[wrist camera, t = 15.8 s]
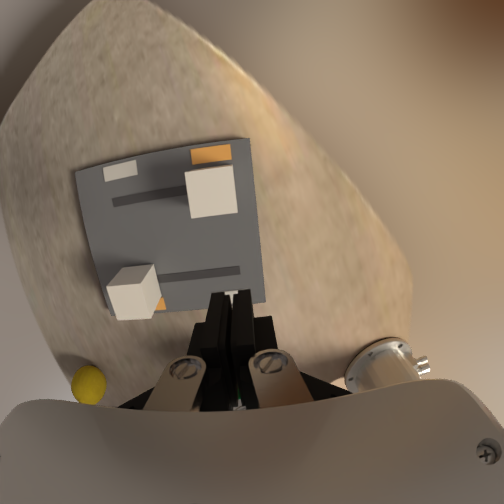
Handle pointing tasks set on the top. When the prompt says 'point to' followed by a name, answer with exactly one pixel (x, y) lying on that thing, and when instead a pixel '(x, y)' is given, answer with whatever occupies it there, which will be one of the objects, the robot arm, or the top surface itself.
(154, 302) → the back slider
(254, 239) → the switch panel
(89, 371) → the lemon
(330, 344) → the top surface
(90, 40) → the top surface
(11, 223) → the top surface
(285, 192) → the top surface
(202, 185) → the front slider
